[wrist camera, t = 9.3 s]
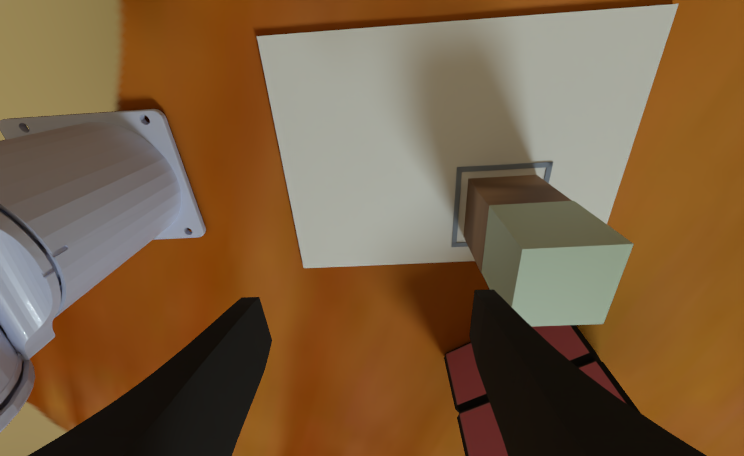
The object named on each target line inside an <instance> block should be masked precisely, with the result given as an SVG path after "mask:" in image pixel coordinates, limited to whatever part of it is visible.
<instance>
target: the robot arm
mask: <svg viewBox="0 0 744 456" xmlns="http://www.w3.org/2000/svg"><path fill="white" fill-rule="evenodd" d="M145 115H146V116H147V117H148V118H149V120H150V123H148V122H146V120H145ZM26 125H27V126H28V127H29V129H28V128H27V126H26ZM0 131H1V132H2V134H3V136H4V137H5V139H6V140H2V141H0V432H1V431H2V430H3V429H4V428H5V427H6V426H7V425H8V424H9V423H10V422H11V420H12V419H13V418H14V417H15V416H16V415H17V413H18V412H19V411H20V409H21V408H22V406H23V405H24V403H25V402H26V400H27V399H28V397H29V395H30V392H31V390H32V388H33V384H34V380H35V372H34V366H33V364H32V362H31V361H30V358H31V357H32V356H33V355H35V354H36V353H37V352H38V351H39V350H40V349H42V348H43V347H44V346H45V345H46V344H47V343H49V342H50V341H51V340H52V339H53V338H54V337H55V333H54V331H53V329H52V321H53V319H54V318H55V317H56V316H58V315H59V314H60V313H61V312H63V311H64V310H65V309H66V308H68V307H69V306H70V305H71V304H73V303H74V302H75V301H76V300H78V299H79V298H80V297H81V296H83V295H84V294H85V293H86V292H88V291H89V290H90V289H91V288H93V287H94V286H95V285H96V284H98V283H99V282H100V281H101V280H103V279H104V278H105V277H106V276H108V275H109V274H110V273H111V272H113V271H114V270H115V269H116V268H118V267H119V266H120V265H121V264H123V263H124V262H125V261H126V260H128V259H129V258H130V257H131V256H133V255H134V254H135V253H136V252H138V251H139V250H140V249H141V248H143V247H144V246H145V245H147V244H148V243H149V242H150V241H152V240H153V239H175V238H196V237H201V236H203V235H204V234H205V232H206V228H205V225H204V222H203V219H202V217H201V214H200V211H199V208H198V205H197V203H196V200H195V197H194V194H193V191H192V189H191V186H190V183H189V180H188V177H187V175H186V172H185V169H184V166H183V163H182V161H181V158H180V155H179V152H178V149H177V147H176V144H175V141H174V138H173V135H172V133H171V130H170V127H169V124H168V121H167V119H166V116H165V115H164V113H163V112H162V111H160V110H158V109H145V110H130V111H115V112H102V113H101V112H100V113H86V114H73V115H72V114H71V115H57V116H41V117H27V118H11V119H3V120H1V121H0ZM187 228H189V229H191V230H192V232H190V231H189V230H188V229H187ZM470 340H471V344H472V349H473V353H474V357H475V361H476V365H477V368H478V371H479V374H480V377H481V380H482V382H483V385H484V388H485V391H486V394H487V396H488V399H489V402H490V405H491V408H492V410H493V413H494V416H495V419H496V421H497V424H498V427H499V430H500V433H501V435H502V438H503V441H504V444H505V448H506V451H507V454H508V456H706V455H705V454H703V453H701V452H700V451H698V450H696V449H695V448H693V447H692V446H690V445H688V444H687V443H685V442H684V441H682V440H680V439H679V438H677V437H676V436H674V435H672V434H671V433H669V432H668V431H666V430H665V429H663V428H662V427H660V426H659V425H657V424H656V423H654V422H653V421H651V420H650V419H648V418H647V417H645V416H644V415H642V414H641V413H639V412H638V411H636V410H635V409H633V408H632V407H630V406H629V405H627V404H626V403H625V402H623V401H622V400H620V399H619V398H617V397H616V396H615V395H613V394H612V393H611V392H609V391H608V390H607V389H605V388H604V387H603V386H601V385H600V384H599V383H597V382H596V381H595V380H593V379H592V378H591V377H589V376H588V375H587V374H585V373H584V372H583V371H582V370H580V369H579V368H578V367H577V366H575V365H574V364H573V363H572V362H571V361H569V360H568V359H567V358H566V357H565V356H564V355H562V354H561V353H560V352H559V351H558V350H556V349H555V348H554V347H553V346H552V345H551V344H550V343H549V342H548V341H546V340H545V339H544V338H543V337H542V336H541V335H540V334H539V333H538V332H537V331H536V330H535V329H534V328H532V327H531V326H530V325H529V324H528V323H527V322H526V321H525V320H524V319H523V318H522V317H521V316H520V315H519V314H518V313H517V312H516V311H515V310H514V309H513V308H512V307H511V306H510V305H509V304H508V303H507V302H506V301H505V300H504V299H503V298H502V297H501V296H500V295H499V294H498V293H497V292H496V291H495V290H494V289H491V290H475V292H474V301H473V309H472V318H471V327H470ZM271 343H272V339H271V335H270V332H269V329H268V325H267V322H266V319H265V315H264V312H263V309H262V305H261V302H260V299H259V297H248V298H241V299H239V300H238V301H237V302H236V303H235V304H233V305H232V306H231V307H230V308H229V309H228V310H227V311H226V312H224V313H223V314H222V315H221V316H220V317H219V318H218V319H217V320H216V321H214V322H213V323H212V324H211V325H210V326H209V327H208V328H207V329H205V330H204V331H203V332H202V333H201V334H200V335H199V336H197V337H196V338H195V339H194V340H193V341H192V342H191V343H189V344H188V345H187V346H186V347H185V348H183V349H182V350H181V351H180V352H178V353H177V354H176V355H175V356H174V357H172V358H171V359H170V360H169V361H167V362H166V363H165V364H164V365H163V366H161V367H160V368H159V369H158V370H156V371H155V372H154V373H153V374H151V375H150V376H149V377H147V378H146V379H145V380H143V381H142V382H141V383H139V384H138V385H137V386H135V387H134V388H132V389H131V390H130V391H128V392H127V393H125V394H124V395H123V396H121V397H120V398H118V399H117V400H116V401H114V402H113V403H111V404H110V405H108V406H107V407H105V408H104V409H102V410H101V411H99V412H98V413H96V414H94V415H93V416H91V417H90V418H88V419H87V420H85V421H84V422H82V423H81V424H79V425H77V426H76V427H74V428H73V429H71V430H70V431H68V432H67V433H65V434H63V435H62V436H60V437H59V438H57V439H55V440H54V441H52V442H50V443H49V444H47V445H46V446H44V447H42V448H40V449H39V450H37V451H35V452H34V453H32V454H30V455H28V456H232V453H233V451H234V448H235V445H236V442H237V439H238V437H239V434H240V432H241V429H242V427H243V424H244V421H245V419H246V416H247V414H248V411H249V409H250V406H251V404H252V401H253V399H254V396H255V394H256V391H257V388H258V386H259V383H260V381H261V378H262V375H263V373H264V370H265V366H266V363H267V359H268V355H269V351H270V347H271Z"/></svg>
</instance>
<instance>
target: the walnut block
mask: <svg viewBox="0 0 744 456" xmlns="http://www.w3.org/2000/svg"><path fill="white" fill-rule="evenodd" d="M559 201H572V200H570V199H569V198H568V197H566V196H565V195H564V194H562V193H561V192H560V191H558V190H557V189H555V188H554V187H553V186H551V185H550V184H549V183H547V182H546V181H545V180H543V179H542V178H540V177H539V176H538V175H524V176H505V177H486V178H468V189H467V200H466V212H465V224H464V236H463V237H464V239H465V241H466V243H467V245H468V247H469V249H470V251H471V253H472V255H473V257H474V260H475V262H476V264H477V266H478V268H479V270H480V272H481V273H482V263H483V255H484V246H485V237H486V229H487V220H488V212H489V205H504V204H523V203H541V202H559Z"/></svg>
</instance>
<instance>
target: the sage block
mask: <svg viewBox="0 0 744 456" xmlns="http://www.w3.org/2000/svg"><path fill="white" fill-rule="evenodd" d="M632 247H633V243H632V242H630V241H629V240H628V239H626V238H625V237H623V236H622V235H621V234H619V233H618V232H617V231H615V230H614V229H612V228H611V227H610V226H608V225H607V224H606V223H604V222H603V221H601V220H600V219H599V218H597V217H596V216H594V215H593V214H592V213H590V212H589V211H588V210H586V209H585V208H583V207H582V206H581V205H579V204H578V203H577V202H575V201H559V202H541V203H523V204H504V205H489V212H488V220H487V229H486V237H485V246H484V255H483V263H482V274H483V277H484V279H485V281H486V283H487V285H488V287H489V289H490V290H491V289H494V290H495V291H496V292H497V293H498V294H499V295H500V296H501V297H502V298H503V299H504V300H505V301H506V302H507V303H508V304H509V305H510V306H511V307H512V308H513V309H514V310H515V311H516V312H517V313H518V314H519V315H520V316H521V317H522V318H523V319H524V320H525V321H526V322H527V323H528V324H529V325H530V326H531V327H534V326H562V325H590V324H604V321H605V318H606V316H607V313H608V310H609V308H610V305H611V303H612V300H613V297H614V295H615V292H616V289H617V287H618V284H619V281H620V279H621V276H622V273H623V271H624V268H625V266H626V263H627V260H628V258H629V255H630V252H631V250H632Z"/></svg>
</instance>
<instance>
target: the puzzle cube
mask: <svg viewBox="0 0 744 456" xmlns="http://www.w3.org/2000/svg"><path fill="white" fill-rule="evenodd" d="M532 328H534V329H535V330H536V331H537V332H538V333H539V334H540V335H541V336H542V337H543V338H544V339H545V340H546V341H548V342H549V343H550V344H551V345H552V346H553V347H554V348H555V349H556V350H558V351H559V352H560V353H561V354H562V355H564V356H565V357H566V358H567V359H568V360H569V361H571V362H572V363H573V364H574V365H575V366H577V367H578V368H579V369H580V370H582V371H583V372H584V373H585V374H587V375H588V376H589V377H591V378H592V379H593V380H595V381H596V382H597V383H599V384H600V385H601V386H603V387H604V388H605V389H607V390H608V391H609V392H611V393H612V394H613V395H615V396H616V397H617V398H619V399H620V400H622V401H623V402H625V403H626V404H627V405H629V406H630V407H632V408H633V409H635V410H636V411H638V412H639V410H638V409H637V407H636V406H635V405H634V403H633V402H632V401H631V399H630V398H629V397H628V395H627V394H626V393H625V391H624V390H623V389H622V387H621V386H620V384H619V383H618V382H617V380H616V379H615V378H614V376H613V375H612V374H611V372H610V371H609V370H608V368H607V367H606V366H605V364H604V363H603V362H601V360H600V358H599V357H598V355H597V353H596V352H595V351H594V349H593V348H592V347H591V345H590V344H589V343H588V341H587V340H586V339H585V337H584V336H583V334H582V333H581V332H580V330H579V329H578V328H577V326H576V325H562V326H534V327H532ZM444 359H445V364H446V369H447V373H448V378H449V382H450V387H451V391H452V396H453V401H454V405H455V409H456V410H457V411H458V412H459V415H458V417H457V419H458V424H459V428H460V433H461V437H462V442H463V447H464V451H465V456H508V454H507V451H506V448H505V444H504V441H503V438H502V435H501V433H500V430H499V427H498V424H497V421H496V419H495V416H494V413H493V410H492V408H491V405H490V402H489V399H488V396H487V394H486V391H485V388H484V385H483V382H482V380H481V377H480V374H479V371H478V368H477V365H476V361H475V357H474V353H473V349H472V344H471V343H469V344H467V345H465V346H462V347H460V348H458V349H456V350H454V351H451V352H449V353H447V354H446V355H445V357H444ZM639 413H640V412H639Z"/></svg>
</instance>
